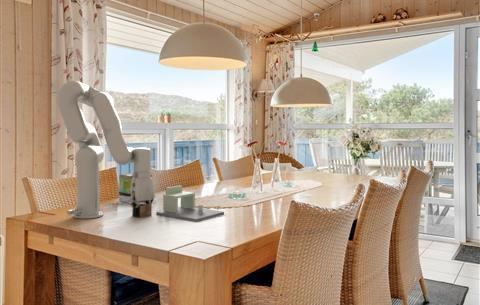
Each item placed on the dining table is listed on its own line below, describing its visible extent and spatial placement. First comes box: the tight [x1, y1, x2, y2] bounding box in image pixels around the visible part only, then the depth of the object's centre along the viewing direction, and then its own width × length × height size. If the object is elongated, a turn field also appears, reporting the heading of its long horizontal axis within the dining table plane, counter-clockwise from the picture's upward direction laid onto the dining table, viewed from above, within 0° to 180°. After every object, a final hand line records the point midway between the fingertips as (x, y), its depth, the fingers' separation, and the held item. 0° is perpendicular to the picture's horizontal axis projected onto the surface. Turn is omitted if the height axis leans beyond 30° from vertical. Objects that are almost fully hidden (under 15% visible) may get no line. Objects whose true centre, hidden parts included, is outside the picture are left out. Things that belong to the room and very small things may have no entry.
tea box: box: [118, 172, 153, 204], centre depth 224 cm, size 15×10×15 cm
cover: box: [162, 185, 196, 213], centre depth 195 cm, size 13×8×10 cm, turn 146°
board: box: [155, 203, 225, 223], centre depth 191 cm, size 20×24×5 cm
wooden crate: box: [131, 202, 153, 219], centre depth 186 cm, size 6×6×5 cm
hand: (142, 214), depth 186 cm, fingers closed on wooden crate, 6 cm apart
